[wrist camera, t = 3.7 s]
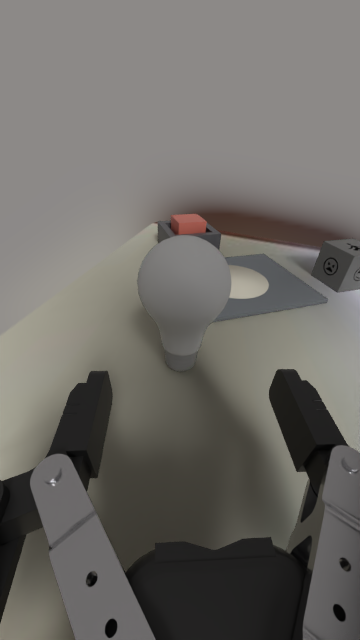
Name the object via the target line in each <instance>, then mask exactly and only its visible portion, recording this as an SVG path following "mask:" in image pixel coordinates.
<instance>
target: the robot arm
mask: <svg viewBox="0 0 360 640" xmlns="http://www.w3.org/2000/svg"><path fill="white" fill-rule="evenodd" d="M269 399H270V402H271V405H272V408H273V410H274V413H275V416H276V418H277V421H278V423H279V426H280V429H281V431H282V434H283V437H284V439H285V442H286V445H287V447H288V450H289V452H290V455H291V458H292V460H293V463H294V466H295V468H296V471H297V472H307V475H308V477H309V479H308V481H307V485H306V488H305V492H304V496H303V500H302V504H301V508H300V512H299V515H298V519H297V523H296V526H295V528H294V530H293V532H292V534H291V536H290V539H289V542H288V545H287V549H286V551H285V550H283V549H281V548H279V547H277V546H274V545H273V544H272V540H271V537H267V538H247V539H241V540H239V541H237V542H234V543H232V544H230V545H227V546H225V547H223V548H220V549H218V550H211V549H208V548H204V547H201V546H197V545H194V544H191V543H187V542H167V543H155V550H153V551H151V552H149V553H147V554H145V555H144V556H142V557H141V558H140V559H138V560H137V561H136V562H135V563H134V564H133V565H132V566H131V567H130V568H129V569H128V571H127V572H126V573H125V571H124V569H123V567H122V565H121V563H120V560H119V558H118V556H117V554H116V552H115V550H114V548H113V546H112V544H111V542H110V540H109V537H108V535H107V533H106V531H105V529H104V527H103V525H102V523H101V521H100V519H99V516H98V514H97V512H96V510H95V508H94V506H93V504H92V502H91V500H90V497H89V495H88V493H87V489H88V484H89V480H90V478H98V472H99V467H100V462H101V457H102V452H103V447H104V442H105V436H106V431H107V426H108V421H109V416H110V411H111V405H112V388H111V383H110V378H109V374H108V371H91V372H90V373H89V376H88V379H87V383H78V384H77V385H76V387H75V388H74V389H73V390H72V391H71V392H70V395H69V397H68V400H67V403H66V406H65V409H64V411H63V415H62V417H61V420H60V423H59V425H58V428H57V431H56V434H55V437H54V439H53V442H52V445H51V448H50V450H49V452H48V454H47V456H46V457H45V459H44V460H42V461H41V462H40V463H39V464H38V465H37V466H36V467H35V468H34V469H32V470H30V471H28V472H26V473H23V474H20V475H18V476H15V477H12V478H9V479H6V480H4V481H1V480H0V622H1V619H2V616H3V612H4V609H5V605H6V602H7V598H8V595H9V592H10V588H11V585H12V581H13V578H14V575H15V571H16V568H17V564H18V561H19V558H20V554H21V551H22V547H23V544H24V540H25V537H26V534H28V533H30V532H32V531H35V530H37V529H39V528H42V527H44V530H45V533H46V536H47V539H48V542H49V556H50V561H51V564H52V567H53V570H54V574H55V577H56V580H57V583H58V586H59V589H60V592H61V596H62V599H63V602H64V605H65V608H66V611H67V614H68V618H69V621H70V624H71V627H72V630H73V633H74V636H75V640H360V453H359V452H358V451H357V450H355V449H353V448H351V447H349V446H348V444H347V443H346V441H345V440H344V438H343V436H342V434H341V433H340V431H339V429H338V427H337V426H336V424H335V422H334V420H333V419H332V417H331V415H330V413H329V412H328V410H327V409H326V406H325V405H324V403H323V402H322V399H321V398H320V396H319V394H318V392H317V391H316V389H315V388H314V387H313V386H312V385H311V384H310V383H309V382H308V381H307V380H303V381H302V380H301V378H300V377H299V375H298V373H297V371H296V370H294V369H278V370H277V371H276V374H275V376H274V379H273V381H272V384H271V386H270V389H269Z"/></svg>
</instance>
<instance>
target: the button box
mask: <svg viewBox="0 0 360 640" xmlns="http://www.w3.org/2000/svg"><path fill="white" fill-rule="evenodd" d="M180 235H190V236H196V237H199V238H201V239H204V240H206V241H208V242H209V243H211V244H212V245H213V246H215V247H216V248H217V249H218V250H219V246H220V239H221V233H219V232H218V231H217V230H216V229H214V228H213V227H212V226H210V225H209V224H208V223H206V233H194V234H180ZM174 236H179V235H175V234H174V233H173V232H172V230H171V221H158V243H160V242H162V241H163V240H165V239H168V238H171V237H174Z"/></svg>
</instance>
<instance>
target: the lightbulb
mask: <svg viewBox="0 0 360 640" xmlns="http://www.w3.org/2000/svg"><path fill="white" fill-rule="evenodd" d="M137 282H138V293H139V296H140V299H141V302H142V304H143V306H144V307H145V309H146V310H147V312H148V313H149V315H150V316H151V317H152V319H153V320H154V321H155V322H156V324H157V326H158V328H159V330H160V334H161V342H162V345H163V347H164V348H165V349H164V350H165V359H166V363H167V365H168V366H169V367H170V368H171V369H173V370H175V371H186V370H189V369H191V368H192V367H193V366H194V364H195V361H196V357H197V350H198V349H199V348H200V346H201V343H202V338H203V335H204V333H205V330H206V329H207V327H208V326H209V325H210V324H211V323H212V322H213V321H214V320H215V319H216V317H217V316H218V315H219V314H220V313H221V311H222V310H223V309H224V307H225V305H226V303H227V301H228V299H229V296H230V292H231V274H230V269H229V266H228V264H227V262H226V260H225V258H224V256H223V255H222V254H221V252H220V251H219V250H218V249H217V248H216V247H215V246H213V245H212V244H211V243H209V242H208V241H206V240H204V239H201V238H199V237H196V236H190V235H179V236H174V237H171V238H168V239H165V240H163V241H162V242H160V243H158V244H157V245H155V246H154V247H153V248H152V249H151V250H150V251H149V252H148V254H147V255H146V257H145V258H144V260H143V261H142V264H141V267H140V270H139V273H138V280H137Z"/></svg>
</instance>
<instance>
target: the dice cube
mask: <svg viewBox="0 0 360 640" xmlns="http://www.w3.org/2000/svg"><path fill="white" fill-rule="evenodd" d="M311 275H312V276H314V277H315V278H317V279H318V280H320V281H321V282H322V283H324V284H325V285H327V286H328V287H330V288H331V289H333V290H334V291H336V292H344V291H351V290H358V289H360V241H358V240H356V239H344V240H332V241H324V243H323V245H322V248H321V251H320V253H319V256H318V258H317V261H316V264H315V266H314V269H313V272H312V274H311Z"/></svg>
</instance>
